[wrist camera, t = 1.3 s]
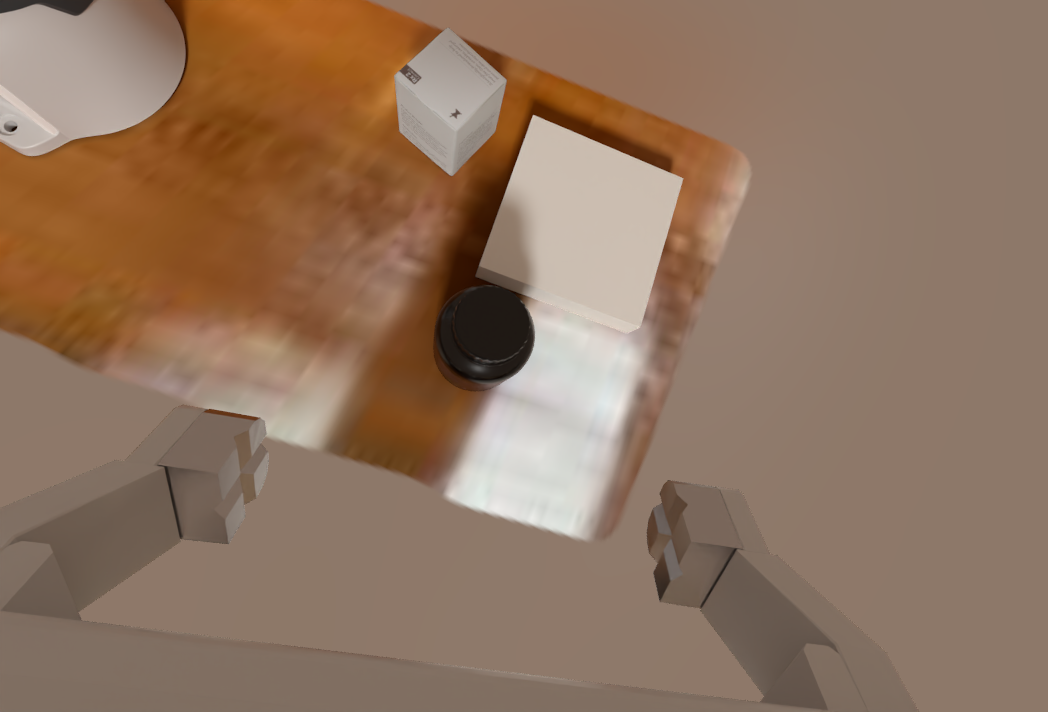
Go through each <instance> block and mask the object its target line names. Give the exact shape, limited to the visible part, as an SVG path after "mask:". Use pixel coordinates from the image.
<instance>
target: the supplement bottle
mask: <svg viewBox="0 0 1048 712" xmlns="http://www.w3.org/2000/svg"><path fill="white" fill-rule="evenodd" d="M534 341H535V330H534V324H533V320H532V317H531V315H530V313H529V311H528V309H527V308H526V306H525V305H524V304H523V302H522V301H521V300H520V298H518V297H516V295H515V294H514V293H511V292H510V291H509V290H508V289H503V288H502V287H497V286H492V285H476V286H471V287H468V288H465V289H463V290H461V291H459V292H457V293H456V294H455V295H453V296H452V297H451V298H450V299H449V300H448V301H447V302H446V303H445V305H444V306H443V307H442V309H441V311H440V313H439V315H438V318H437V321H436V325H435V333H434V346H433V350H434V358H435V362H436V365H437V367H438V369H439V371H440V372H441V374H442V375H443V376H444V377H445V379H447V380H448V381H449V382H450V383H451V384H453V385H454V386H456V387H458V388H461V389H464V390H468V391H484V390H488V389H491V388H494V387H496V386H497V385H499V384H501V383H502V382H504V381H506V380H507V379H509V378H511V377H512V376H514V375H515V374H516V373H518V372H519V371H520V370H521V369H522V368H523V366H524V365H525V364H526V362H527V361H528V359H529V357H530V355H531V353H532V350H533V347H534Z"/></svg>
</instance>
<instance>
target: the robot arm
mask: <svg viewBox="0 0 1048 712" xmlns="http://www.w3.org/2000/svg"><path fill="white" fill-rule="evenodd" d="M185 57H186V49H185V41H184V36H183V32H182V30H181V27H180V24H179V22H178V20H177V18H176V16H175V15H174V13H173V12H172V10H171V9H170V7H169V6H168V5H167V3H166V2H165V1H164V0H0V142H2V143H4V144H6V145H7V146H9V147H11V148H13V149H14V150H16V151H18V152H20V153H22V154H24V155H27V156H38V155H42V154H44V153H47V152H49V151H52V150H54V149H56V148H58V147H60V146H61V145H63V144H65V143H67V142H69V141H71V140H74V139H77V138H83V137H89V136H97V135H104V134H109V133H113V132H117V131H120V130H123V129H126V128H129V127H131V126H134V125H136V124H138V123H140V122H141V121H143V120H145V119H146V118H148V117H149V116H151V115H152V114H154V113H155V112H156V111H157V110H159V109H160V108H161V107H162V106H163V105H164V104H165V103H166V102H167V100H168V99H169V98H170V97H171V95H172V94H173V92H174V91H175V89H176V87H177V86H178V84H179V81H180V79H181V76H182V74H183V70H184V65H185ZM16 126H18V127H17V129H16V130H15V131H13V132H11V130H12V128H14V127H16ZM265 436H266V427H265V421H264V420H263V419H261V418H258V417H253V416H247V415H241V414H236V413H230V412H224V411H219V410H213V409H204V408H198V407H193V406H187V405H181V406H178V407H176V408H174V409H173V410H172V411H171V412H170V413H169V414H168V416H167V417H166V418H165V419H164V420H163V421H162V422H161V423H160V424H159V425H158V426H157V427H156V428H155V429H154V430H153V431H152V432H151V434H149V435H148V437H147V438H146V439H145V440H144V441H143V442H142V443H141V444H140V445H139V446H138V447H137V448H136V449H135V450H134V451H133V452H132V453H131V455H129V456H128V458H127V459H126V460H125V461H119V460H114V461H112V462H110V463H107V464H105V465H102V466H100V467H98V468H95V469H93V470H90V471H88V472H86V473H83V474H81V475H79V476H76V477H74V478H71V479H69V480H66V481H64V482H62V483H59V484H57V485H54V486H53V487H50V488H47V489H45V490H43V491H40V492H38V493H35V494H33V495H31V496H28V497H26V498H23V499H21V500H18V501H16V502H14V503H11V504H9V505H7V506H4V507H2V508H0V712H919V710H918V709H917V707H916V705H915V703H914V702H913V700H912V698H911V696H910V695H909V693H908V691H907V689H906V687H905V685H904V684H903V682H902V680H901V678H900V677H899V675H898V673H897V671H896V669H895V667H894V666H893V664H892V662H891V660H890V658H889V657H888V655H887V653H886V652H885V651H884V650H883V649H882V648H881V647H880V646H879V645H877V644H876V643H875V642H874V641H873V640H872V639H871V638H870V637H868V636H867V635H866V634H865V633H864V632H863V631H862V630H861V629H860V628H858V627H857V626H856V625H855V624H854V623H853V622H852V621H851V620H849V619H848V618H847V617H846V616H845V615H844V614H843V613H842V612H840V611H839V610H838V609H837V608H836V607H835V606H834V605H833V604H832V603H830V602H829V601H828V600H827V599H826V598H825V597H824V596H822V595H821V594H820V593H819V592H818V591H817V590H816V589H815V588H814V587H812V586H811V585H810V584H809V583H808V582H807V581H806V580H805V579H803V578H802V577H801V576H800V575H799V574H798V573H797V572H796V571H795V570H793V569H792V568H791V567H790V566H789V565H788V564H787V563H786V562H784V561H783V560H782V559H781V558H780V557H779V556H778V555H773V554H770V553H769V550H768V548H767V546H766V544H765V541H764V539H763V537H762V535H761V532H760V530H759V528H758V526H757V524H756V522H755V519H754V517H753V515H752V513H751V511H750V508H749V506H748V504H747V501H746V499H745V497H744V495H743V493H742V492H740V491H739V490H737V489H729V488H722V487H712V486H705V485H698V484H691V483H685V482H677V481H671V480H668V481H667V482H666V483H665V484H664V485H663V487H662V489H661V492H660V496H661V500H662V503H661V504H659V505H658V506H656V507H655V508H653V510H652V512H651V515H650V517H649V520H648V527H647V545H648V550H649V554H650V555H651V556H652V557H653V558H654V560H655V561H656V562H657V563H658V564H657V566H656V568H655V570H654V573H653V574H654V578H655V583H656V587H657V592H658V596H659V601H660V602H663V603H669V604H676V605H681V606H687V607H694V608H700V609H701V610H700V611H701V612H702V614H704V616H705V618H706V619H707V620H708V622H709V623H710V624H711V626H712V627H713V628H714V630H715V631H716V632H717V634H718V635H719V636H720V637H721V639H722V640H723V642H724V643H725V644H726V646H727V647H728V648H729V650H730V651H731V652H732V654H733V655H734V656H735V658H736V659H737V660H738V662H739V663H740V664H741V666H742V667H743V668H744V670H745V671H746V672H747V674H748V675H749V677H750V678H751V679H752V680H753V682H754V683H755V685H756V686H757V687H758V689H759V690H760V691H761V692H762V694H763V695H764V697H763V699H762V700H761V701H760V702H754V701H746V700H737V699H729V698H721V697H712V696H704V695H696V694H687V693H679V692H671V691H663V690H654V689H646V688H637V687H629V686H620V685H612V684H604V683H595V682H587V681H579V680H570V679H561V678H554V677H545V676H537V675H528V674H519V673H511V672H503V671H495V670H486V669H478V668H470V667H462V666H453V665H445V664H436V663H429V662H420V661H412V660H404V659H396V658H387V657H378V656H371V655H362V654H354V653H346V652H338V651H330V650H321V649H313V648H305V647H296V646H288V645H280V644H271V643H264V642H255V641H246V640H239V639H230V638H221V637H213V636H205V635H197V634H188V633H180V632H172V631H163V630H156V629H147V628H139V627H131V626H122V625H113V624H106V623H97V622H89V621H82V620H81V617H80V615H79V613H78V612H79V611H81V610H82V609H84V608H85V607H87V606H88V605H89V604H91V603H92V602H94V601H95V600H97V599H98V598H100V597H101V596H102V595H104V594H105V593H107V592H108V591H110V590H111V589H113V588H114V587H116V586H117V585H118V584H120V583H121V582H123V581H124V580H126V579H127V578H129V577H130V576H132V575H133V574H134V573H136V572H137V571H139V570H140V569H142V568H143V567H145V566H146V565H147V564H149V563H150V562H152V561H153V560H155V559H156V558H157V557H159V556H161V555H162V554H163V553H165V552H166V551H168V550H169V549H171V548H172V547H174V546H175V545H177V544H178V543H179V542H180V539H184V540H193V541H203V542H213V543H222V544H229V543H230V541H231V539H232V538H233V536H234V534H235V533H236V530H237V529H238V528H239V526H240V524H241V523H242V521H243V519H244V518H245V508H244V505H245V504H247V503H249V502H250V501H252V500H254V499H255V498H256V497H257V496H258V494H259V492H260V490H261V488H262V487H263V484H264V481H265V478H266V475H267V470H268V462H269V460H268V451H267V450H266V449H265V447H264V446H263V445H262V444H261V442H262V440H263V439H264V437H265Z"/></svg>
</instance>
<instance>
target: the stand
mask: <svg viewBox="0 0 1048 712" xmlns="http://www.w3.org/2000/svg"><path fill="white" fill-rule="evenodd" d="M682 181H683V178H681V177H679V176H676V175H674V174H672V173H669V172H667V171H665V170H662V169H660V168H658V167H655V166H653V165H650V164H648V163H646V162H643V161H641V160H639V159H636V158H634V157H632V156H629V155H627V154H625V153H622V152H620V151H617V150H615V149H613V148H610V147H608V146H606V145H603V144H601V143H599V142H596V141H594V140H592V139H589V138H587V137H584V136H582V135H580V134H577V133H575V132H573V131H570V130H568V129H566V128H563V127H561V126H559V125H556V124H554V123H551V122H549V121H547V120H544V119H542V118H540V117H537V116H535V115H533V117H532V119H531V122H530V125H529V128H528V131H527V133H526V136H525V139H524V142H523V144H522V147H521V150H520V153H519V156H518V158H517V161H516V164H515V167H514V169H513V172H512V175H511V178H510V181H509V183H508V186H507V189H506V192H505V195H504V197H503V200H502V203H501V206H500V208H499V211H498V214H497V217H496V220H495V222H494V225H493V228H492V231H491V233H490V236H489V239H488V242H487V245H486V247H485V250H484V253H483V256H482V259H481V261H480V264H479V267H478V270H477V272H476V275H475V277H477V278H480V279H483V280H485V281H488V282H491V283H493V284H496V285H499V286H501V287H504V288H507V289H509V290H512V291H515V292H517V293H520V294H522V295H525V296H528V297H530V298H533V299H536V300H538V301H541V302H544V303H546V304H549V305H552V306H554V307H557V308H560V309H562V310H565V311H568V312H570V313H573V314H576V315H578V316H581V317H584V318H586V319H589V320H592V321H594V322H597V323H600V324H602V325H605V326H608V327H610V328H613V329H616V330H618V331H621V332H624V333H626V334H627V333H629V332H631V331H633V330H635V329H637V328H639V327H641V323H642V320H643V316H644V313H645V310H646V306H647V303H648V299H649V296H650V292H651V289H652V285H653V282H654V278H655V275H656V271H657V268H658V264H659V261H660V257H661V254H662V250H663V247H664V244H665V240H666V237H667V233H668V230H669V226H670V223H671V219H672V216H673V212H674V209H675V205H676V202H677V198H678V195H679V191H680V188H681V184H682Z"/></svg>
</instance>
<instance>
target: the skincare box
mask: <svg viewBox="0 0 1048 712" xmlns="http://www.w3.org/2000/svg"><path fill="white" fill-rule="evenodd" d="M394 77H395V87H396V98H397V109H398V120H399V131H400V132H401V133H402V134H403V135H404V136H405V137H406V138H407V139H409V140H410V141H411V142H412V143H413V144H414V145H415V146H417V147H418V148H419V149H420V150H421V151H422V152H423V153H425V154H426V155H427V156H428V157H429V158H430V159H432V160H433V161H434V162H435V163H436V164H437V165H439V166H440V167H441V168H442V169H443V170H444V171H446V172H447V173H448V174H449V175H450V176H453V175H454V174H455V173H456V172H457V171H458V170H459V169H460V167H461V166H462V165H463V164H464V163H465V162H466V161H467V160H468V159H469V158H470V157H471V156H472V155H473V154H474V153H475V152H476V151H477V150H478V149H479V148H480V147H481V146H482V145H483V144H484V143H485V142H486V141H487V140H488V139H489V138H490V137H491V136H492V135H493V133H494V132H495V131H496V126H497V122H498V117H499V113H500V108H501V104H502V99H503V95H504V90H505V86H506V79H505V78H504V77H503V76H502V75H501V74H500V73H499V72H497V71H496V70H495V69H494V68H493V67H492V66H491V65H490V64H489V63H487V62H486V61H485V60H484V59H483V58H482V57H481V56H480V55H479V54H477V53H476V52H475V51H474V50H473V49H472V48H471V47H470V46H469V45H468V44H466V43H465V42H464V41H463V40H462V39H461V38H460V37H459V36H458V35H457V34H455V33H454V32H453V31H452V30H451V29H450V28H446V29H445V30H444V31H443V32H441V33H440V34H439V35H438V36H437V37H436V38H435V39H434V40H433V41H432V42H430V43H429V44H428V45H427V46H426V47H425V48H424V49H423V50H422V51H421V52H420V53H419V54H417V55H416V56H415V57H414V58H413V59H412V60H411V61H410V62H409V63H407V64H406V65H405V66H404V67H403V68H402V69H401V70H400V71H398V72H397V73H396V74H395V76H394Z"/></svg>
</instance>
